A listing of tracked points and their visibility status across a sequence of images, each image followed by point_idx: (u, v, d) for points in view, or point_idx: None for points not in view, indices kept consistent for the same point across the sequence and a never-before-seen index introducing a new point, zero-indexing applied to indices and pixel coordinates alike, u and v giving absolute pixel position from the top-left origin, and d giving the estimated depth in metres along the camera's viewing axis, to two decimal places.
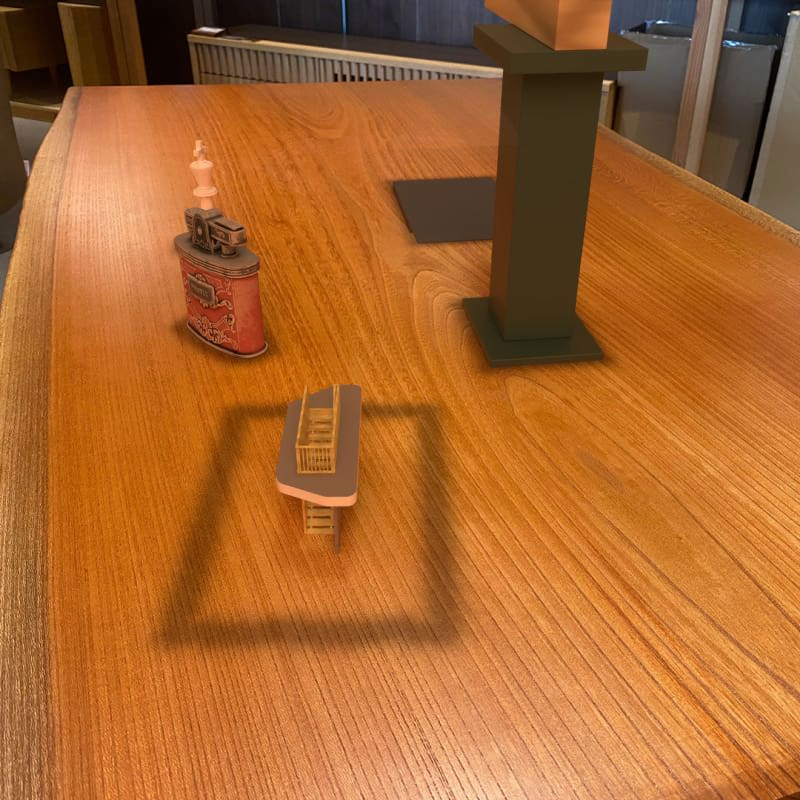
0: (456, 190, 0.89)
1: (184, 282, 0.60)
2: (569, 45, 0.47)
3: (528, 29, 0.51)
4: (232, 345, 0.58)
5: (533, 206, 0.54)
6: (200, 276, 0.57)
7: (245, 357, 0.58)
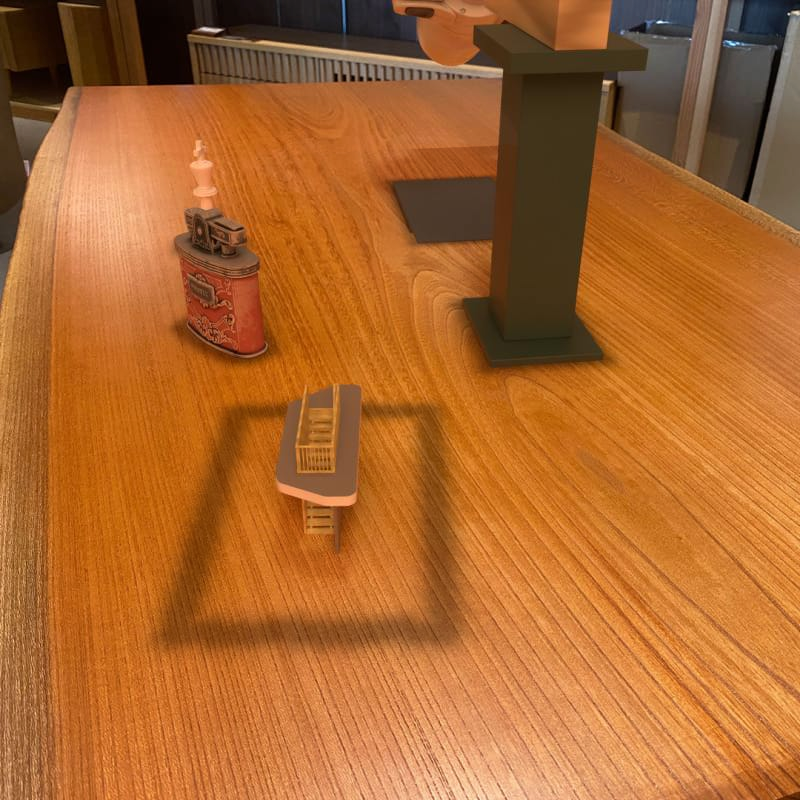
0: (456, 190, 0.89)
1: (184, 282, 0.60)
2: (569, 45, 0.47)
3: (528, 29, 0.51)
4: (232, 345, 0.58)
5: (533, 206, 0.54)
6: (200, 276, 0.57)
7: (245, 357, 0.58)
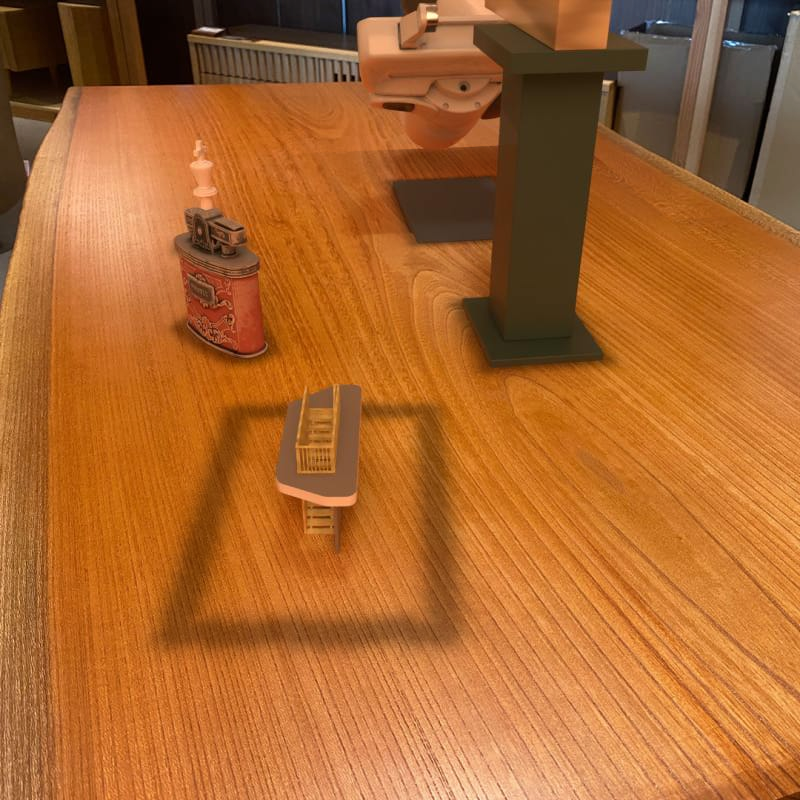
0: (456, 190, 0.89)
1: (184, 282, 0.60)
2: (569, 45, 0.47)
3: (528, 29, 0.51)
4: (232, 345, 0.58)
5: (533, 206, 0.54)
6: (200, 276, 0.57)
7: (245, 357, 0.58)
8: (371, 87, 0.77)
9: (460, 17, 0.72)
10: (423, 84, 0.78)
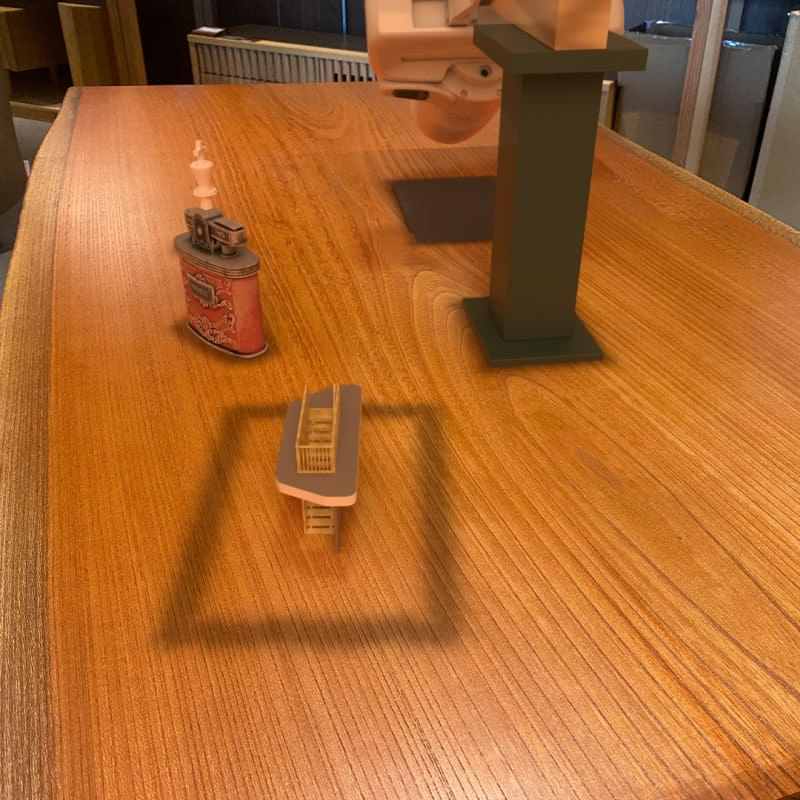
0: (456, 190, 0.89)
1: (184, 282, 0.60)
2: (569, 45, 0.47)
3: (528, 29, 0.51)
4: (232, 345, 0.58)
5: (533, 206, 0.54)
6: (200, 276, 0.57)
7: (245, 357, 0.58)
8: (380, 71, 0.68)
9: None
10: (439, 68, 0.69)
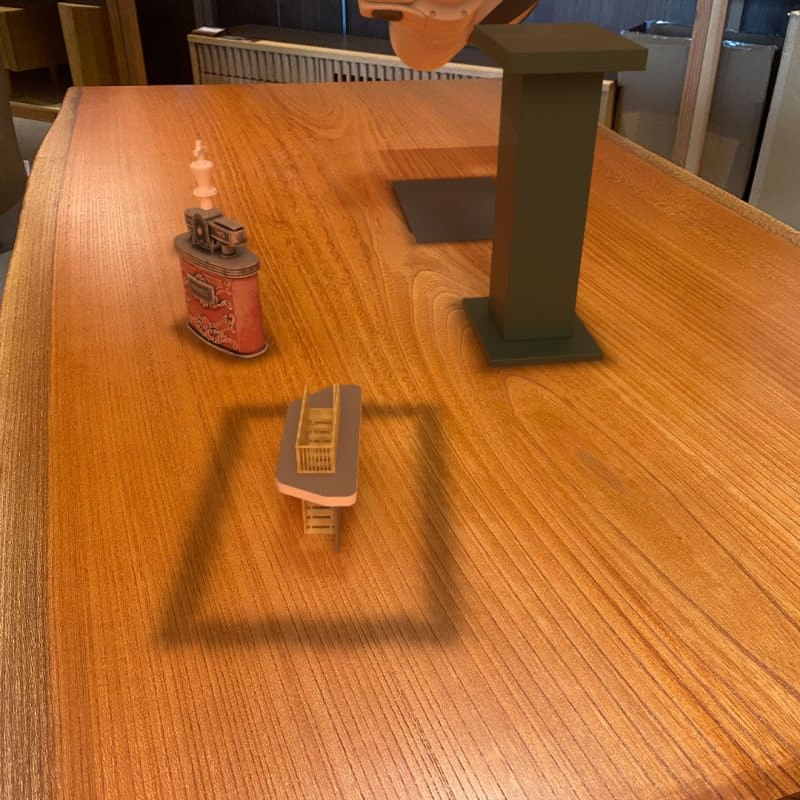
0: (456, 190, 0.89)
1: (184, 282, 0.60)
2: None
3: None
4: (232, 345, 0.58)
5: (533, 206, 0.54)
6: (200, 276, 0.57)
7: (245, 357, 0.58)
8: None
9: None
10: None
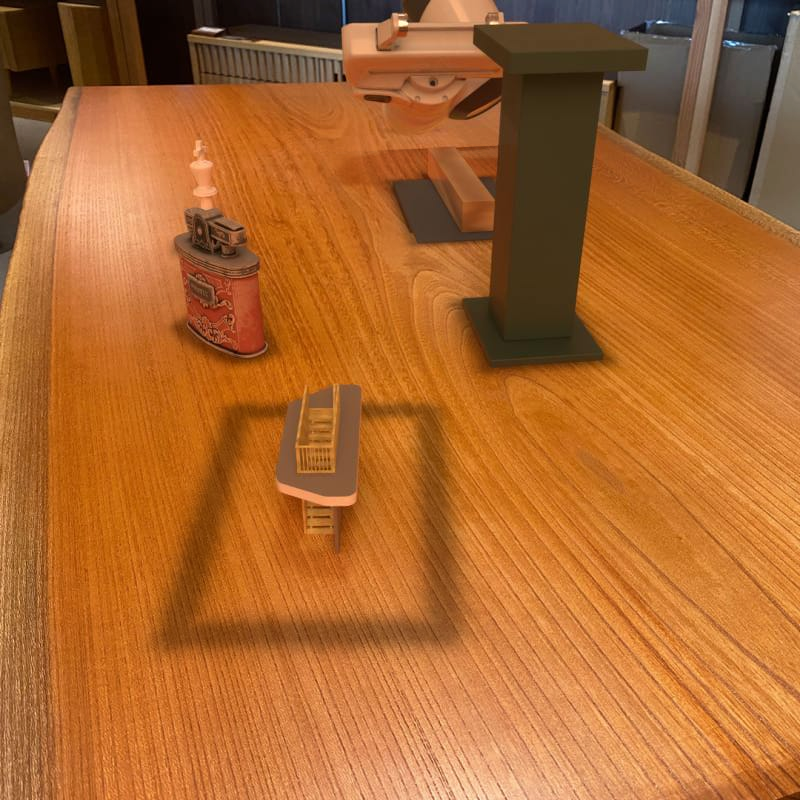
0: None
1: (184, 282, 0.60)
2: (470, 229, 0.78)
3: (449, 209, 0.83)
4: (232, 345, 0.58)
5: (533, 206, 0.54)
6: (200, 276, 0.57)
7: (245, 357, 0.58)
8: (353, 81, 0.90)
9: (428, 24, 0.86)
10: (398, 79, 0.91)
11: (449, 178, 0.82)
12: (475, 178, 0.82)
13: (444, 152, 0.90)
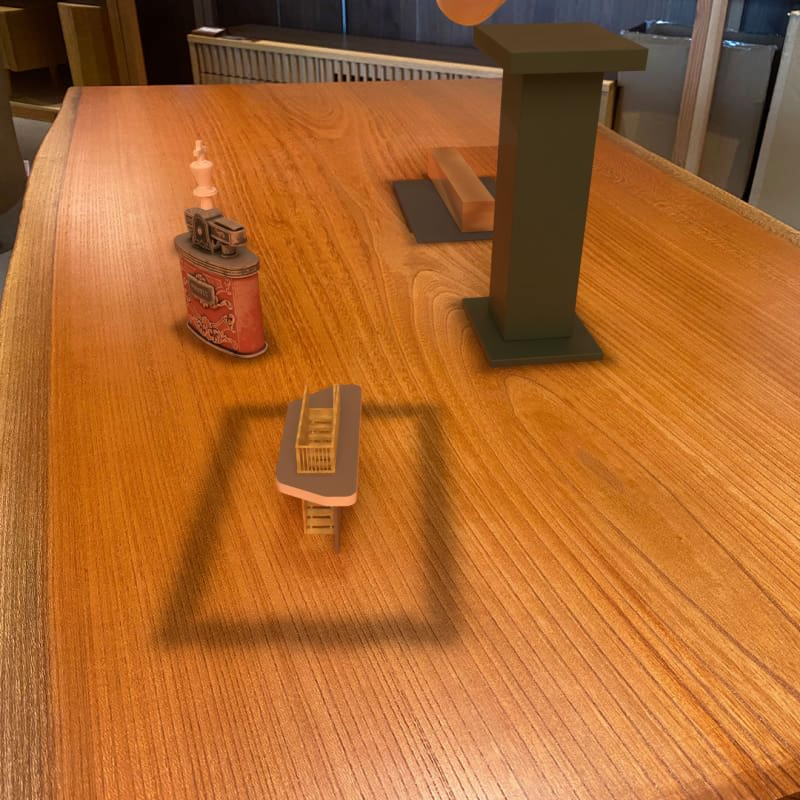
0: None
1: (184, 282, 0.60)
2: (470, 229, 0.78)
3: (449, 209, 0.83)
4: (232, 345, 0.58)
5: (533, 206, 0.54)
6: (200, 276, 0.57)
7: (245, 357, 0.58)
8: None
9: None
10: None
11: (449, 178, 0.82)
12: (475, 178, 0.82)
13: (444, 152, 0.90)
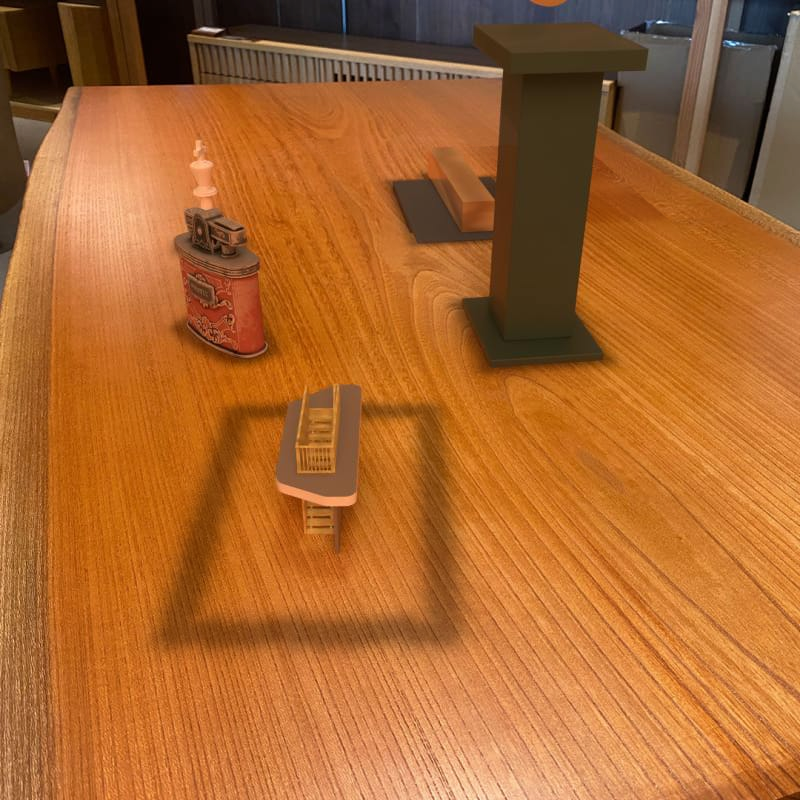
0: None
1: (184, 282, 0.60)
2: (470, 229, 0.78)
3: (449, 209, 0.83)
4: (232, 345, 0.58)
5: (533, 206, 0.54)
6: (200, 276, 0.57)
7: (245, 357, 0.58)
8: None
9: None
10: None
11: (449, 178, 0.82)
12: (475, 178, 0.82)
13: (444, 152, 0.90)
